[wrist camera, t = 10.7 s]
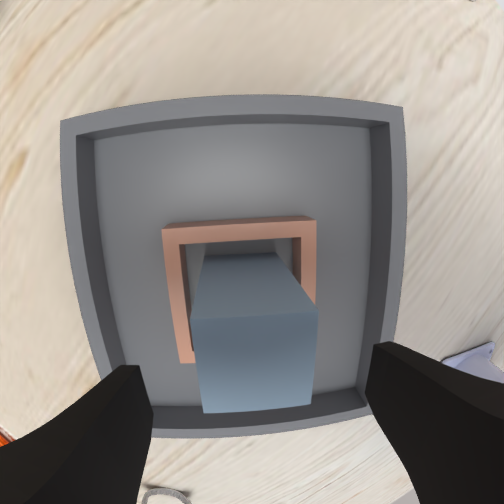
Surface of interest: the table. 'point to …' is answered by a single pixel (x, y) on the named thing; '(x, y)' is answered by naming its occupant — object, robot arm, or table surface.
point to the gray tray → (236, 237)
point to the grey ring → (167, 492)
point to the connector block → (252, 334)
